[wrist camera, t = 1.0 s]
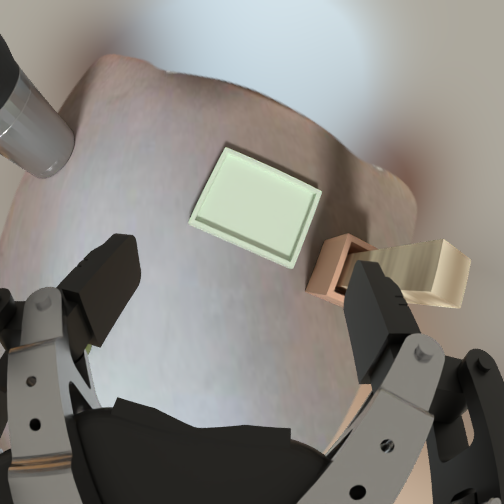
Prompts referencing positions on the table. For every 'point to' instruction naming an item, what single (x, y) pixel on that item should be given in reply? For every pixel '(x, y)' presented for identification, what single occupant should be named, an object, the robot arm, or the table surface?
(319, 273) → the salmon pink open box
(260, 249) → the tray
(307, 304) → the table surface
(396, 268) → the post
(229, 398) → the table surface
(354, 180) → the table surface
